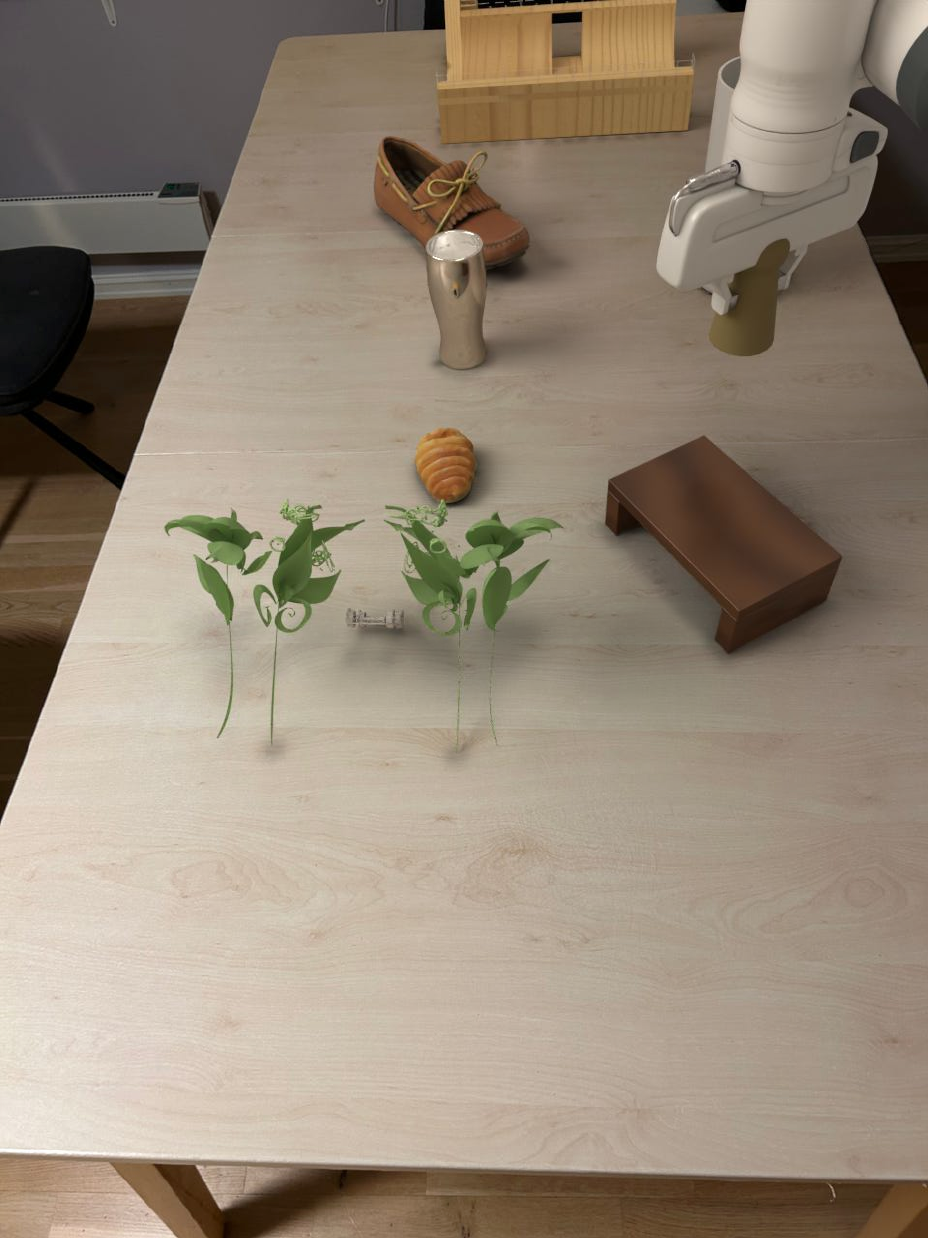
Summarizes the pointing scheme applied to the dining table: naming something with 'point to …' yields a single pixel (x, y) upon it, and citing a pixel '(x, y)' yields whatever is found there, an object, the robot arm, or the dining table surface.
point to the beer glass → (458, 296)
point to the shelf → (726, 537)
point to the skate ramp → (561, 72)
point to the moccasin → (444, 200)
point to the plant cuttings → (433, 568)
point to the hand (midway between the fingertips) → (749, 298)
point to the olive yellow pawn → (752, 306)
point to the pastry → (446, 464)
